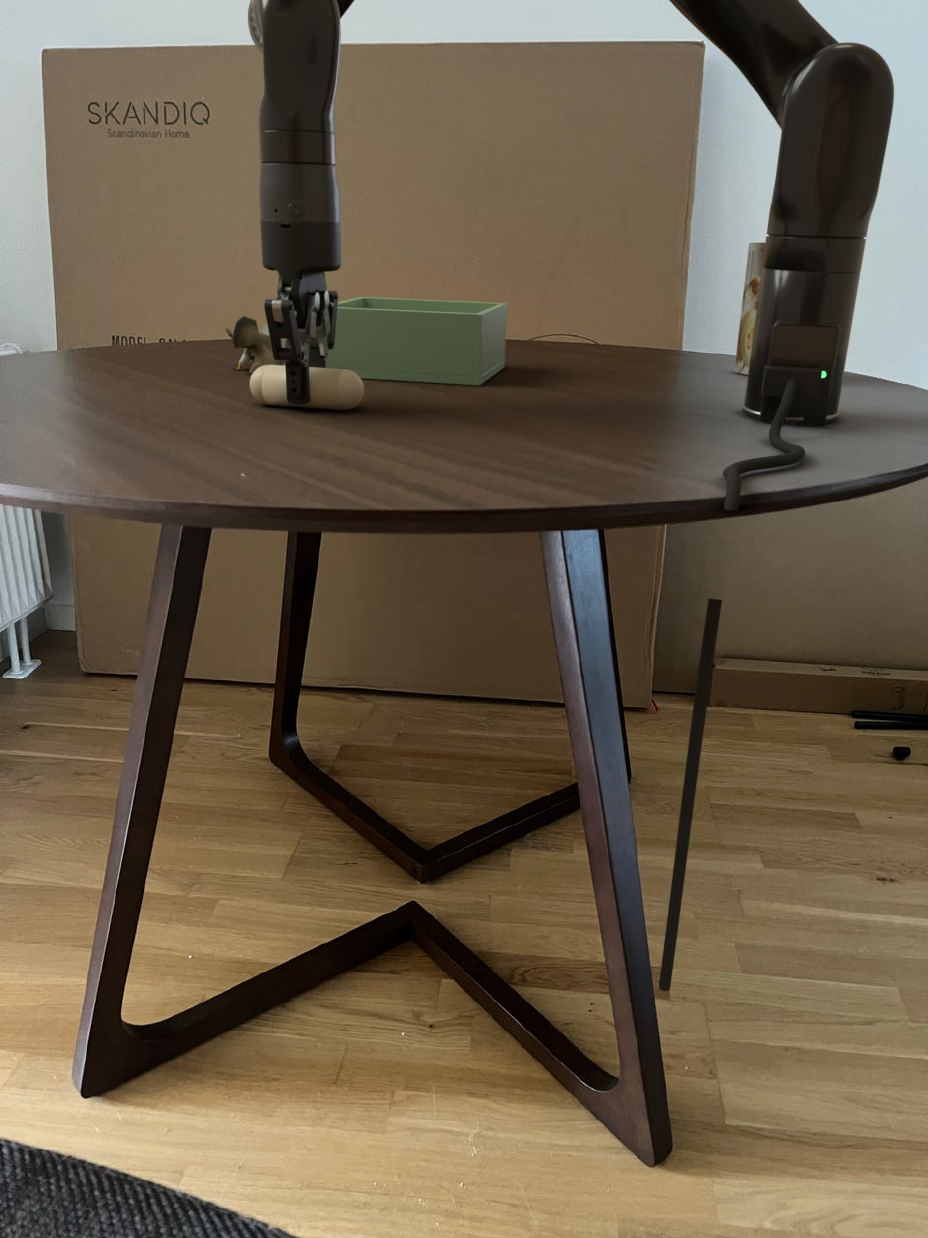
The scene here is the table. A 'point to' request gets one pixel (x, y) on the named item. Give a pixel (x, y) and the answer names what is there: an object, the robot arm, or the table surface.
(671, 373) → the table surface
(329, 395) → the beige capsule
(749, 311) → the coffee box
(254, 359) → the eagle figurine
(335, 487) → the table surface
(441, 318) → the bin
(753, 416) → the robot arm
